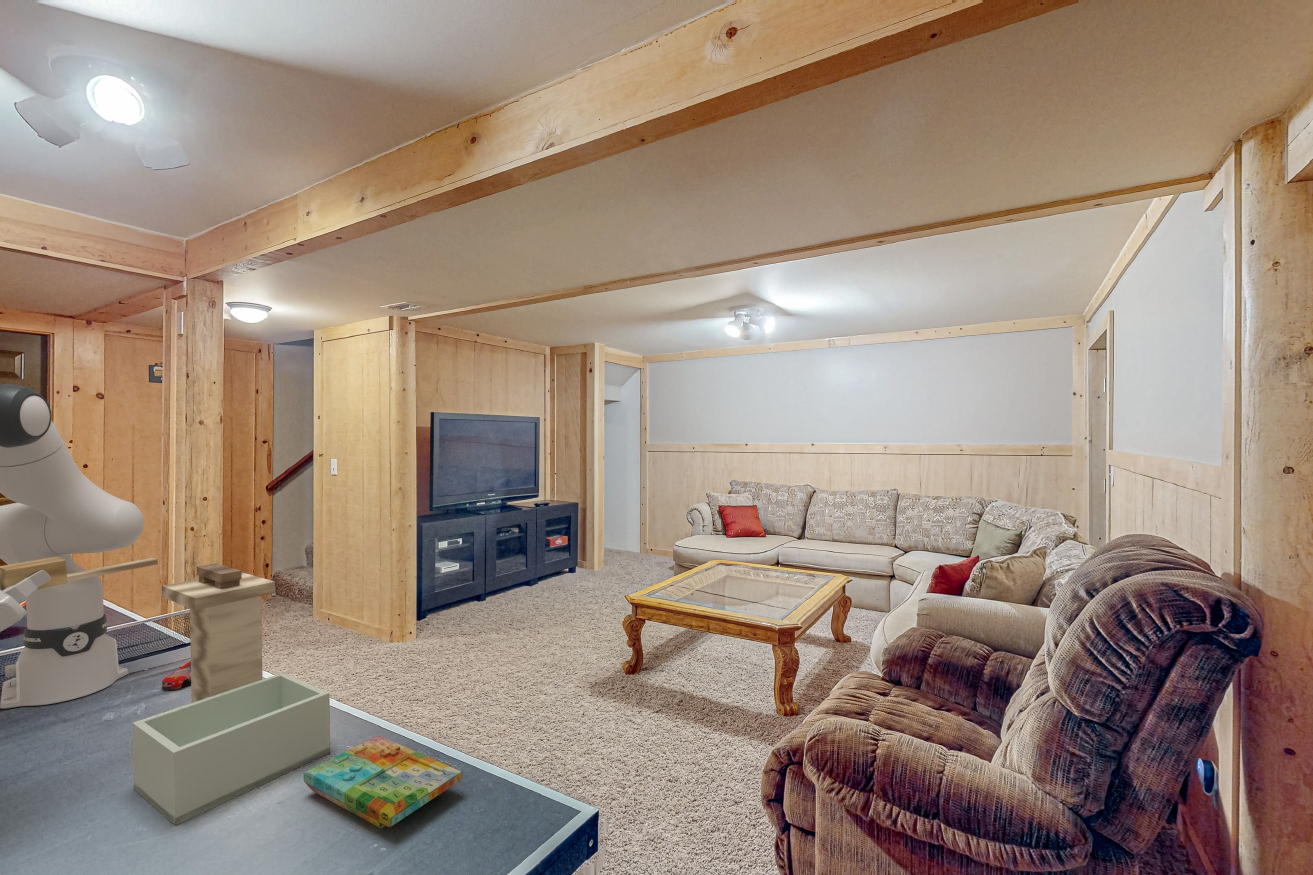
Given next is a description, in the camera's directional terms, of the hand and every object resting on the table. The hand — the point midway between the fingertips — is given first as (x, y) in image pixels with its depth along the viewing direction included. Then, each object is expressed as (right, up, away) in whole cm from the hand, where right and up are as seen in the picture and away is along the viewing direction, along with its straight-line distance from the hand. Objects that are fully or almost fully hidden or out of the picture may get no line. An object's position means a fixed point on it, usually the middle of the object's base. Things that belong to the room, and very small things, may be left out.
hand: (41, 570), depth 86 cm
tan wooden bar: (+3, -2, +4) cm, 5 cm away
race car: (-9, -33, +40) cm, 53 cm away
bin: (+24, -33, +7) cm, 41 cm away
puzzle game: (+50, -34, 0) cm, 60 cm away
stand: (+12, -33, +19) cm, 40 cm away
